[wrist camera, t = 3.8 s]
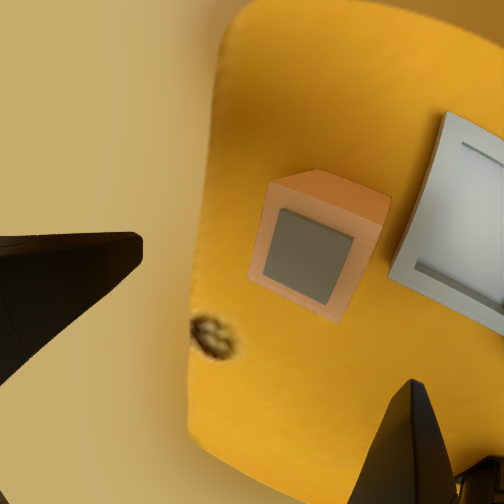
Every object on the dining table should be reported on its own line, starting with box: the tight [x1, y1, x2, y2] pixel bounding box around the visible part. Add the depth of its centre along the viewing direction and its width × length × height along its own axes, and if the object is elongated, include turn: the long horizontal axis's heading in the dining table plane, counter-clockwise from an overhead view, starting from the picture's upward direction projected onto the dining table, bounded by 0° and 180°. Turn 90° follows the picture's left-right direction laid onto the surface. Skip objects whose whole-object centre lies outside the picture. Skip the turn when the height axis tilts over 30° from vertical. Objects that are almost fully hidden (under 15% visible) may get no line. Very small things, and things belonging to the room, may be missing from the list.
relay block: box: [247, 169, 392, 324], centre depth 15 cm, size 5×5×7 cm
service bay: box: [387, 111, 504, 336], centre depth 12 cm, size 10×10×2 cm
